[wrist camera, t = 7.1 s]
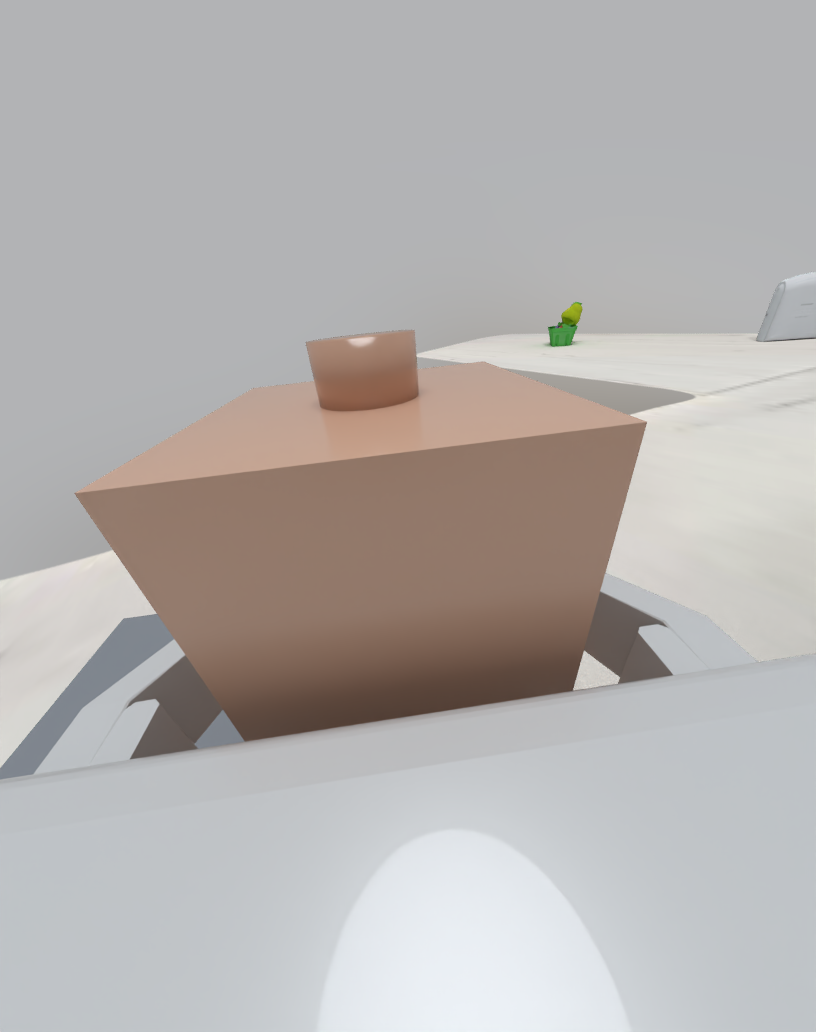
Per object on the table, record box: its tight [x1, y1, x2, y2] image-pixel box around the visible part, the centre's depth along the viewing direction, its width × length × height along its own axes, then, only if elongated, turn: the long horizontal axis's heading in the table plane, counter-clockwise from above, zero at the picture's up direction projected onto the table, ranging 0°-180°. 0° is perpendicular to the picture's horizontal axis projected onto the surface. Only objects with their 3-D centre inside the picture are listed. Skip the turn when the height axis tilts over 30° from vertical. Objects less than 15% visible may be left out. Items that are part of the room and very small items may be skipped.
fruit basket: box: [548, 302, 582, 346], centre depth 104 cm, size 11×9×11 cm
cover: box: [75, 330, 647, 742], centre depth 9 cm, size 6×6×12 cm
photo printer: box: [757, 272, 816, 342], centre depth 72 cm, size 10×4×12 cm, turn 73°
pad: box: [0, 614, 245, 779], centre depth 14 cm, size 9×9×1 cm
